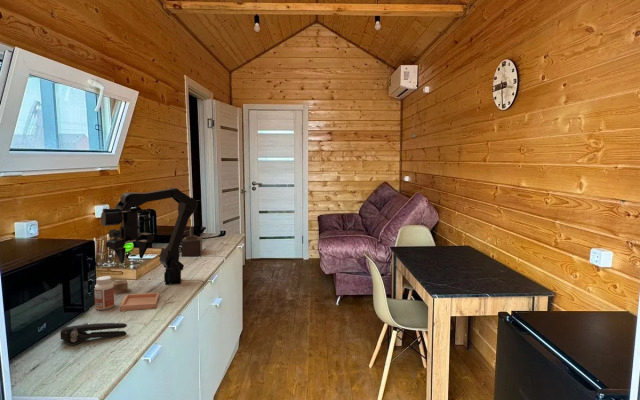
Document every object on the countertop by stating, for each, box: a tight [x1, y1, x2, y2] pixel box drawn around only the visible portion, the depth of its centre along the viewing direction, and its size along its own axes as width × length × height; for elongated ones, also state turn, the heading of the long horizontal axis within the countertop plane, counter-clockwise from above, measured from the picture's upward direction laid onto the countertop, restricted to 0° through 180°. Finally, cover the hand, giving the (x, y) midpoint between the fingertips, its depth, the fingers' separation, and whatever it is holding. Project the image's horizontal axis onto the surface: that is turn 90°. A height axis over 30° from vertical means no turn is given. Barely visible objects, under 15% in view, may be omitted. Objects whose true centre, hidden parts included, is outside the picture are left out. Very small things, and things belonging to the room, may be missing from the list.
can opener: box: [59, 322, 128, 346], centre depth 116 cm, size 18×7×6 cm, turn 115°
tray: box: [119, 292, 160, 312], centre depth 145 cm, size 12×12×2 cm
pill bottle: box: [94, 275, 115, 311], centre depth 140 cm, size 6×6×11 cm
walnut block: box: [112, 279, 129, 295], centre depth 157 cm, size 5×5×4 cm
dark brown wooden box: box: [181, 226, 203, 258], centre depth 219 cm, size 16×11×18 cm
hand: (131, 260), depth 156 cm, fingers open, 9 cm apart
